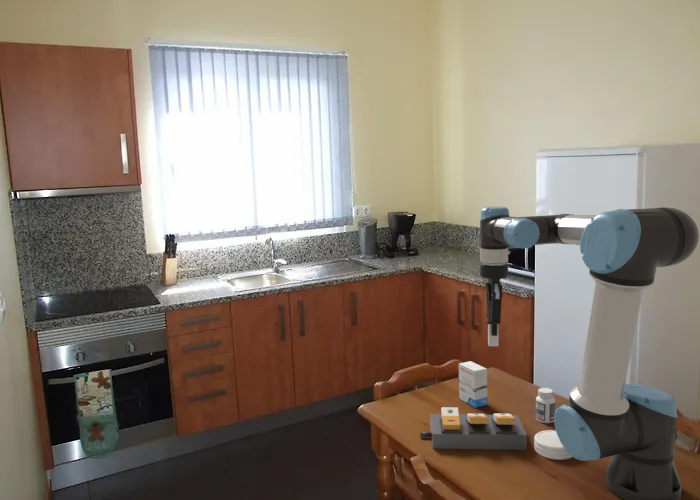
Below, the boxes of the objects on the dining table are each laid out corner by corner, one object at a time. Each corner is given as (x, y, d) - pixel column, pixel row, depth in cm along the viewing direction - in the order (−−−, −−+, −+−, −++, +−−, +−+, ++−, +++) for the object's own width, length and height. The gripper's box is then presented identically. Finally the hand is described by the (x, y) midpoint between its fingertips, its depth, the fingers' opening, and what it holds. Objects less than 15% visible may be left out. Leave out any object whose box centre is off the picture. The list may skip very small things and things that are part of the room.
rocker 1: (460, 429, 152) (460, 424, 151) (443, 429, 152) (443, 424, 152) (457, 412, 158) (457, 407, 158) (441, 411, 159) (441, 407, 158)
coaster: (562, 440, 155) (562, 427, 154) (583, 458, 145) (583, 445, 145) (527, 443, 153) (527, 431, 153) (545, 463, 144) (546, 449, 143)
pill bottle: (552, 415, 169) (553, 386, 168) (556, 423, 164) (557, 393, 163) (533, 415, 170) (534, 386, 168) (537, 423, 164) (538, 393, 163)
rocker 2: (487, 423, 151) (487, 417, 151) (470, 423, 151) (470, 416, 151) (483, 419, 157) (483, 413, 158) (467, 419, 158) (467, 413, 158)
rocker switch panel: (526, 449, 150) (526, 430, 149) (421, 448, 152) (420, 429, 151) (517, 428, 162) (517, 410, 161) (419, 427, 164) (419, 409, 163)
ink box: (488, 405, 177) (488, 368, 176) (474, 408, 175) (474, 371, 174) (471, 395, 185) (471, 360, 183) (457, 398, 183) (457, 362, 181)
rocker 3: (515, 424, 150) (514, 417, 150) (497, 424, 150) (497, 417, 150) (510, 419, 157) (509, 413, 157) (493, 419, 157) (493, 413, 157)
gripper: (512, 267, 153) (511, 353, 157) (503, 258, 166) (502, 338, 170) (483, 267, 154) (483, 353, 158) (477, 259, 167) (476, 338, 170)
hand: (493, 345), depth 164 cm, fingers closed
